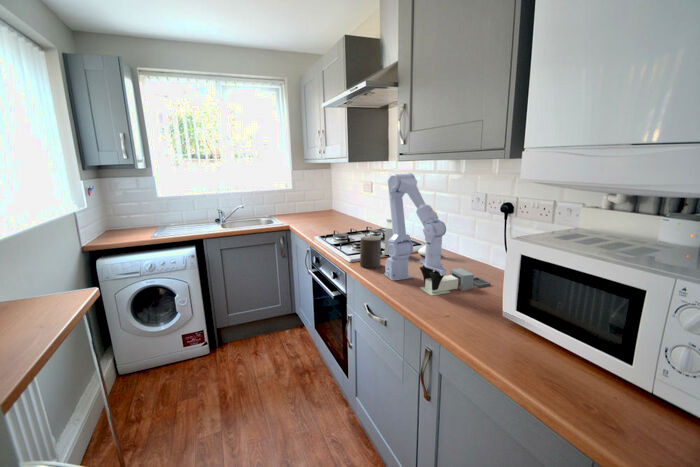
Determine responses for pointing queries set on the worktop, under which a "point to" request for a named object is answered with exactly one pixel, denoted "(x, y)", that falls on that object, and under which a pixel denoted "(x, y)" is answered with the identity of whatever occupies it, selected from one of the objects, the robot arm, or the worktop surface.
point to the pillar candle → (370, 252)
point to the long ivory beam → (443, 284)
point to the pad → (434, 292)
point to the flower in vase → (423, 249)
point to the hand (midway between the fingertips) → (431, 286)
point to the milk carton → (388, 234)
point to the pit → (480, 282)
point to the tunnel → (463, 278)
